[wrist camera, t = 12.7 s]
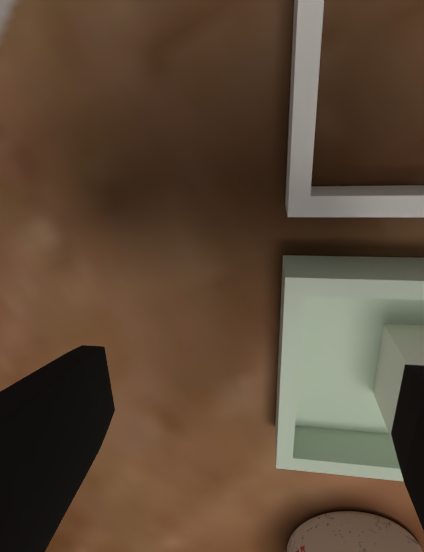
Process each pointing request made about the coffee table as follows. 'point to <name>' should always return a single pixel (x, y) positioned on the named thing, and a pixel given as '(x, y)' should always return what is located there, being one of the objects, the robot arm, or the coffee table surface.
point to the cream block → (396, 365)
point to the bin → (302, 132)
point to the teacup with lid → (351, 534)
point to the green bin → (339, 360)
